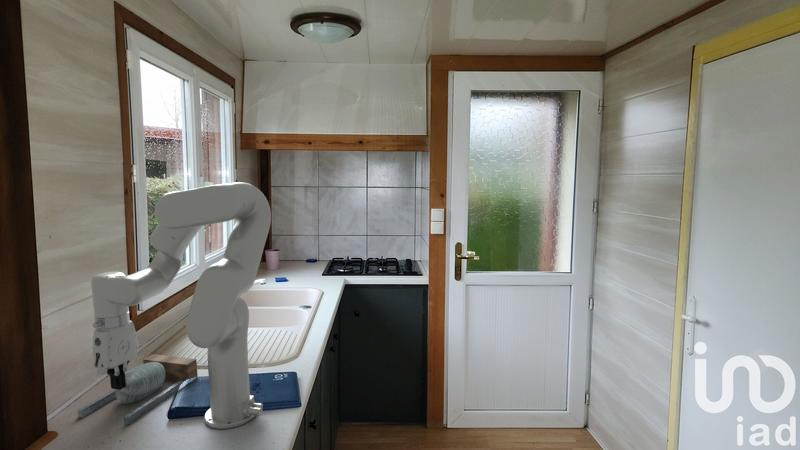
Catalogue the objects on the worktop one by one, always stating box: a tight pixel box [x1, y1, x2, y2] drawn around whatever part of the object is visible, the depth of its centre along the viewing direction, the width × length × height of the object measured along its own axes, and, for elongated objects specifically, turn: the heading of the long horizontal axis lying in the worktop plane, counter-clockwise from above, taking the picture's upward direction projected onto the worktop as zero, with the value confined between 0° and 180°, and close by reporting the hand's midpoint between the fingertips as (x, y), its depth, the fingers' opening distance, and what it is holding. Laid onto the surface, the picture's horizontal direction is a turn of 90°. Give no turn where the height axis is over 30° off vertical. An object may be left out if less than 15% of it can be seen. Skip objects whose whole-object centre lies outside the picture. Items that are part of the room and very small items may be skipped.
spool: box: [115, 362, 165, 405], centre depth 128 cm, size 14×10×10 cm
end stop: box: [142, 353, 199, 383], centre depth 138 cm, size 15×4×6 cm, turn 76°
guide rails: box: [76, 377, 188, 426], centre depth 126 cm, size 15×22×2 cm
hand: (118, 387), depth 120 cm, fingers closed
